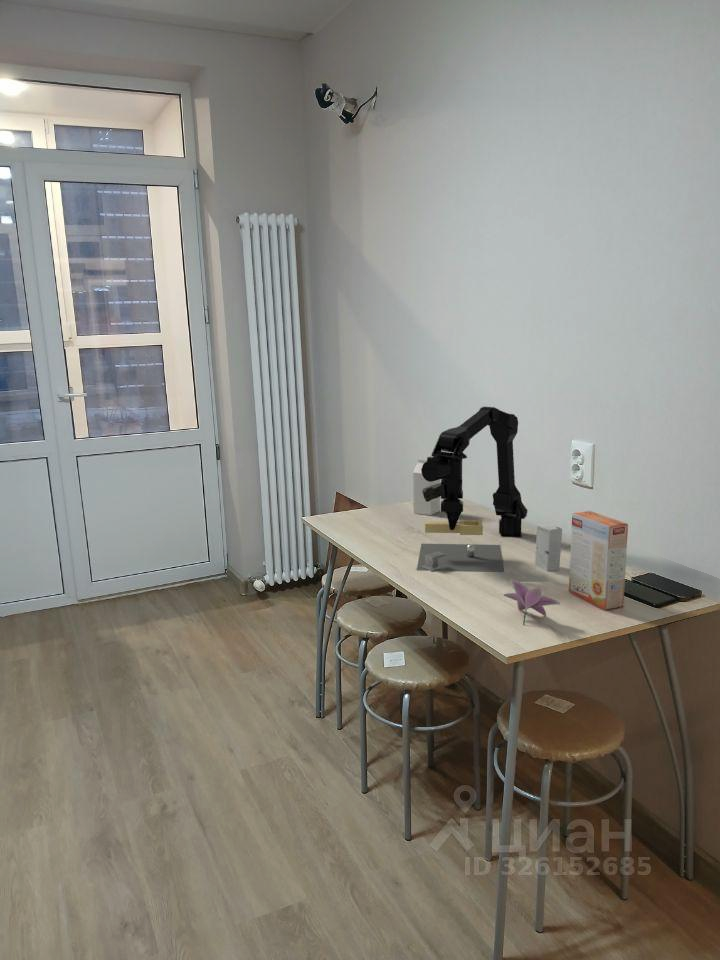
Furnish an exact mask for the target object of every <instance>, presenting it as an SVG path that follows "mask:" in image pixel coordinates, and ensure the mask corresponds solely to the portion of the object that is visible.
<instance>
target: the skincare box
mask: <svg viewBox="0 0 720 960" xmlns="http://www.w3.org/2000/svg"><path fill="white" fill-rule="evenodd" d="M562 535H563V528H562V527H560V526H557V525H555V524H553V523H550V522H547V523H541V524H537V525H536V539H535V541H536V542H535V554H534V555H535V556H534V557H535V558H534V566H536V567H537V568H539V569H541V570H543V571H546V572H551V571H553V572H556V571H559V570H560V566H561V565H560V563H561V548H562V537H563V536H562Z"/></svg>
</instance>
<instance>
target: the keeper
mask: <svg viewBox="0 0 720 960" xmlns="http://www.w3.org/2000/svg"><path fill="white" fill-rule="evenodd" d="M443 556H445V554H443V553H440V552H434V553H430V554H427V555H425V566H422V567H421V568H423V569H426V570H429V572H437V571H436V570H439V569H440V568H439V567H438V558H440V557H443Z"/></svg>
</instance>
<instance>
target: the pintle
mask: <svg viewBox="0 0 720 960" xmlns="http://www.w3.org/2000/svg"><path fill="white" fill-rule="evenodd" d="M468 544H469V545H467V557H469V558H473V557H474V545H472V544H473V543H471V544H470V543H468Z"/></svg>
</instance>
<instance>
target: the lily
mask: <svg viewBox="0 0 720 960" xmlns="http://www.w3.org/2000/svg"><path fill="white" fill-rule="evenodd" d="M510 582H511V584H512V586H513V589H514V593H513V592H510V593H509V592H508V593H504V594H503V595H502V596H504V597H507V598H509V599H511V600H513V601H516V603H517V609H518V611H524V615H523V621H522V625H523V626H525V623H526V622H525V621H526V615H527V610H528V609H532V610H534V611H536V612H538V613H539V614H541V615H542V616H544V617H547V613H546V612H547V611H546V609H545V607H544V606H551V605H560V604H561V602H559V601H558V600H557V599H554V598H552V597H550V596H546V595H543V594H542V589H541V588H540V587H535V588H531V589H529V587H527V586H526V585H525V584H523V583H521V582H520V581H518V580H515V579H512V578H511V580H510Z"/></svg>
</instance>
